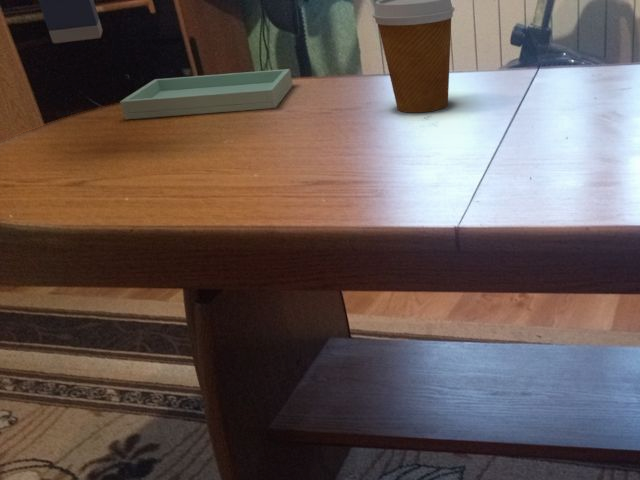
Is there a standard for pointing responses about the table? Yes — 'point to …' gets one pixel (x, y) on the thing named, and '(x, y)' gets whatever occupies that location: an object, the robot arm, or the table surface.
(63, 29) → the eraser
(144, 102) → the tray
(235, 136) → the table surface
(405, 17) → the disposable coffee cup
